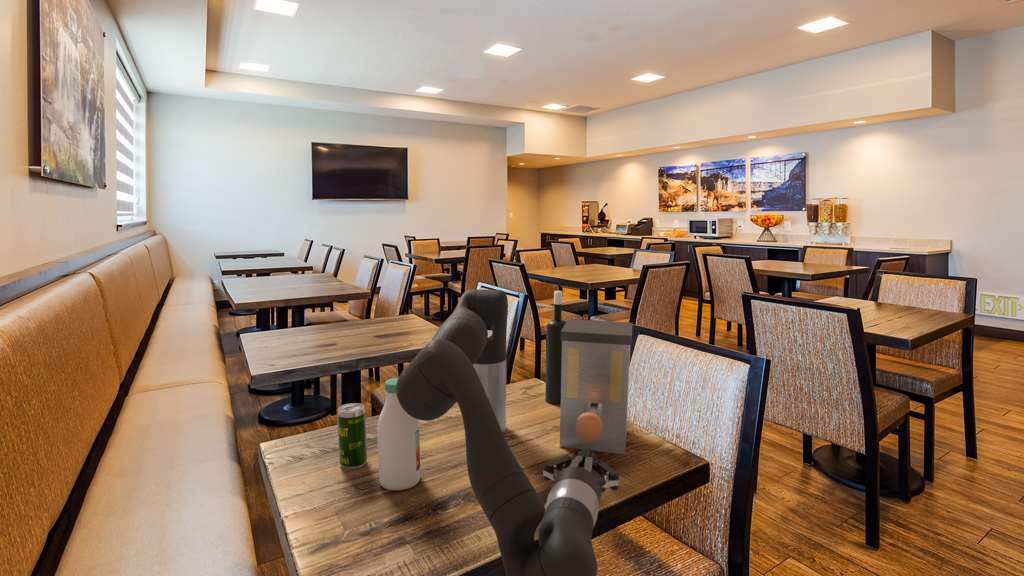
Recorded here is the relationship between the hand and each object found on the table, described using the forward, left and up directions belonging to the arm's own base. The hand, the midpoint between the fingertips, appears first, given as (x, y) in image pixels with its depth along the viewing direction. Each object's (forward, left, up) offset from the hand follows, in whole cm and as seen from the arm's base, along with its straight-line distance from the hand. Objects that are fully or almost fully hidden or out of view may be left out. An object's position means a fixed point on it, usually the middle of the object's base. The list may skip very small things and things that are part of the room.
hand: (586, 453), depth 97 cm
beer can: (-44, +17, -9) cm, 48 cm away
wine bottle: (+4, +48, -9) cm, 49 cm away
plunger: (+5, +16, -2) cm, 17 cm away
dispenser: (+8, +24, -8) cm, 27 cm away
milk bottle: (-34, +9, -9) cm, 36 cm away
